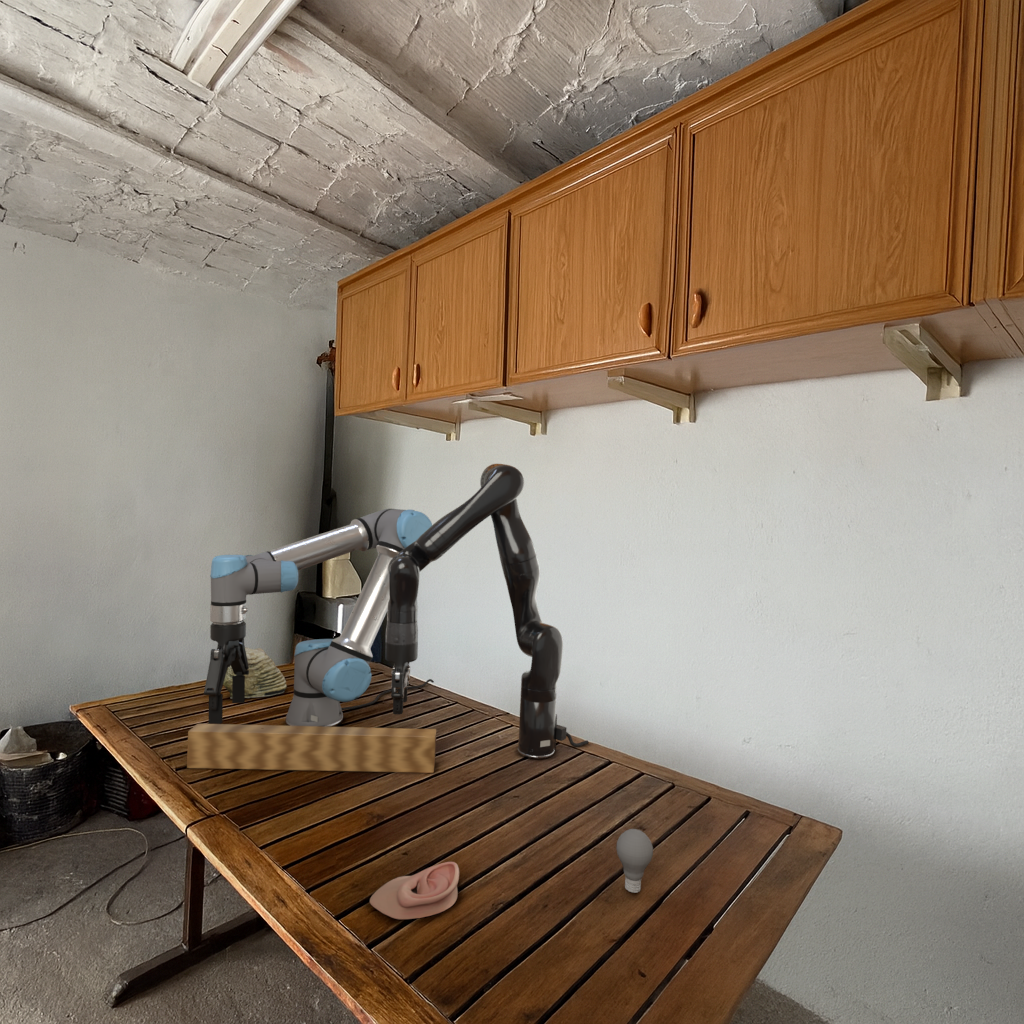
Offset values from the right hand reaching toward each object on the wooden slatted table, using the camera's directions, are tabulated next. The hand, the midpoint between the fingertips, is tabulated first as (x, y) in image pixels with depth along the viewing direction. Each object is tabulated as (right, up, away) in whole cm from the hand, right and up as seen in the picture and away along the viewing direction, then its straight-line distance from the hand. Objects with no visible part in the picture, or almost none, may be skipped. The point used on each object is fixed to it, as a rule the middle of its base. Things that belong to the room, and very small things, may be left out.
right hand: (400, 707), depth 150 cm
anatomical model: (+11, -16, -49) cm, 52 cm away
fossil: (-54, -11, +48) cm, 73 cm away
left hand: (-40, 0, -2) cm, 40 cm away
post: (-20, -13, -1) cm, 24 cm away
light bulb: (+47, -17, -44) cm, 66 cm away
